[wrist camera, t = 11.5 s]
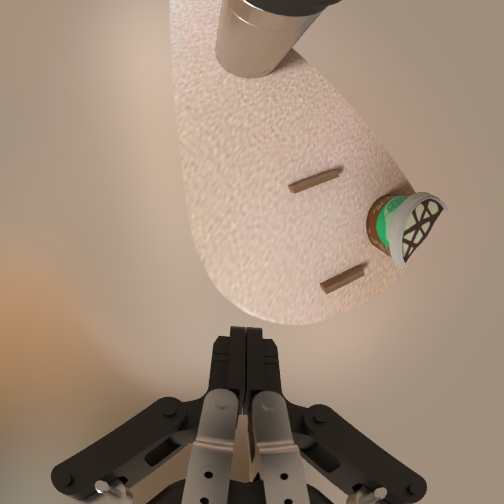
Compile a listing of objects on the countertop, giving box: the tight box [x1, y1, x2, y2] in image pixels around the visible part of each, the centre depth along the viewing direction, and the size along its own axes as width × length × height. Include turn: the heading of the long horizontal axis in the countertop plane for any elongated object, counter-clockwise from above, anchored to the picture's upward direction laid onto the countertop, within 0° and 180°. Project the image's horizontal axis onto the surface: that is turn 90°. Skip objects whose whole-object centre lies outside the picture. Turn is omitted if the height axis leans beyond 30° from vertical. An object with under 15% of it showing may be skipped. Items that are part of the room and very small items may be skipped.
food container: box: [366, 192, 448, 268], centre depth 36 cm, size 12×6×10 cm, turn 137°
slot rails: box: [288, 170, 364, 294], centre depth 39 cm, size 17×7×2 cm, turn 21°
